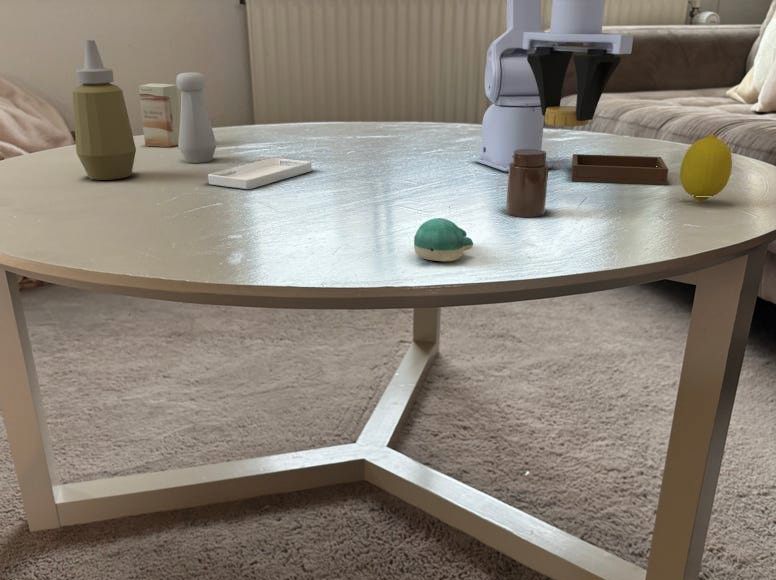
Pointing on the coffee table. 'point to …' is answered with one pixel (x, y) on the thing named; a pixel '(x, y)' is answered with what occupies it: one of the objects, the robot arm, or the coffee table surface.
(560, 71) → the robot arm
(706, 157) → the lemon
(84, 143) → the squeeze bottle
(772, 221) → the coffee table surface
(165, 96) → the cream carton box
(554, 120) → the jar lid
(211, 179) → the phone case
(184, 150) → the salt shaker
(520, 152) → the jar
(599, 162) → the tray
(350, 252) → the coffee table surface
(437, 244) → the whale figurine
